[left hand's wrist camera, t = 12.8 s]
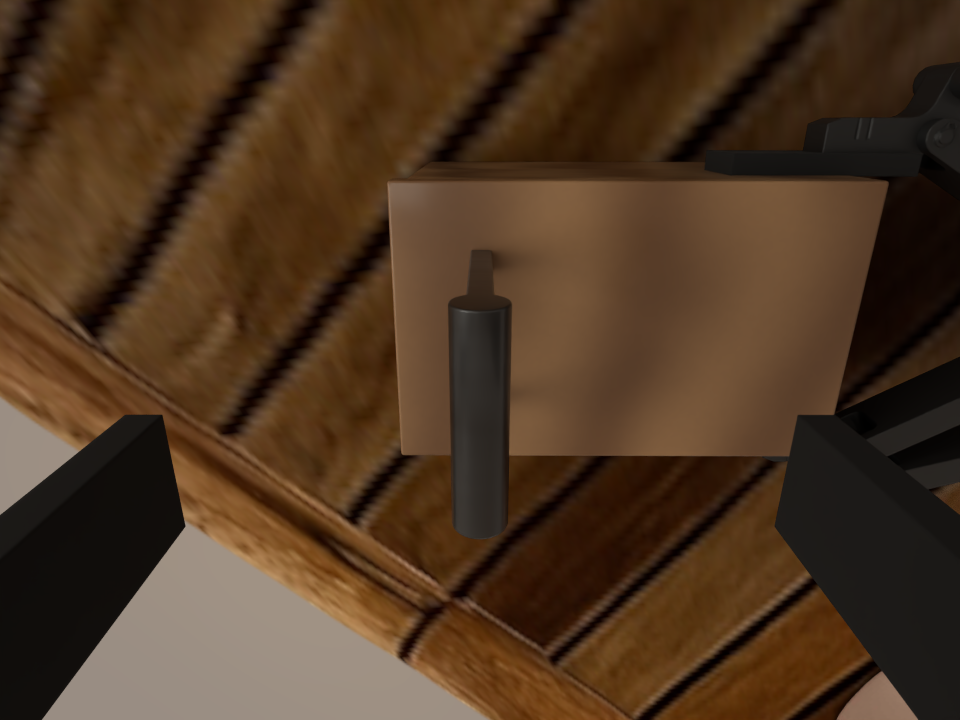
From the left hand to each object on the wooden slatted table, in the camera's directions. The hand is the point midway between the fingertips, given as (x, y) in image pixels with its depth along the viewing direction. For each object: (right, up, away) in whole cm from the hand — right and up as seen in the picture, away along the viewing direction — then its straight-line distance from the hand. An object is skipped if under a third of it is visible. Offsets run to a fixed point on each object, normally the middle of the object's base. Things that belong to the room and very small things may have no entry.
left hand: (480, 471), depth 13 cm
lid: (+5, +4, +9) cm, 11 cm away
